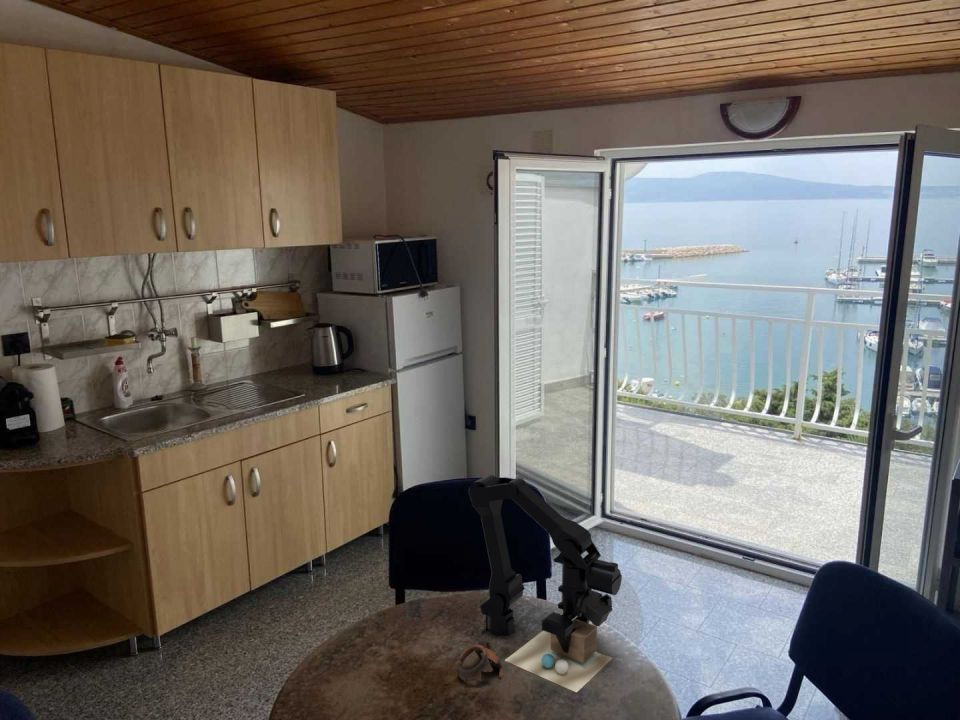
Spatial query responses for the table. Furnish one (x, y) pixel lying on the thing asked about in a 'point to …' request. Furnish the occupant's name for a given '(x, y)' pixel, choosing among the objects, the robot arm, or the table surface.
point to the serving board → (540, 646)
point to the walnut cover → (578, 641)
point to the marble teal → (548, 660)
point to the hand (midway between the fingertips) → (573, 645)
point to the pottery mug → (485, 657)
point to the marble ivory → (561, 666)
